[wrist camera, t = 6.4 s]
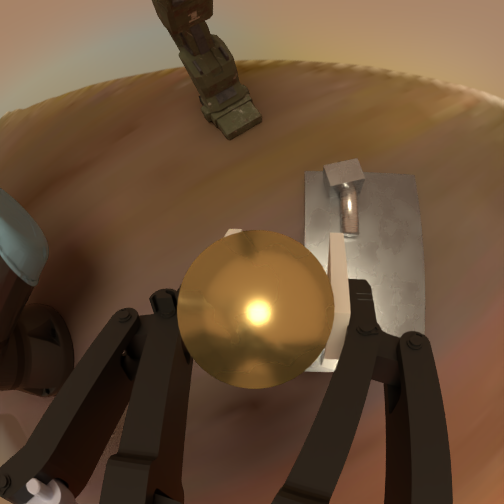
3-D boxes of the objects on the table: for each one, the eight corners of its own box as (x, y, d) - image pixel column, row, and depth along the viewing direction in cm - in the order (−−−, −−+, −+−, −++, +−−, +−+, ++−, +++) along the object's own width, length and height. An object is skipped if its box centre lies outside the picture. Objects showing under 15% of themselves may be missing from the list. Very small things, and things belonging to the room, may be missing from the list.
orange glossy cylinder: (239, 346, 20) (160, 358, 9) (258, 275, 21) (202, 217, 10) (311, 366, 18) (308, 407, 8) (330, 292, 19) (350, 248, 9)
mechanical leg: (183, 89, 43) (108, -51, 13) (220, 67, 43) (178, -82, 13) (226, 150, 42) (161, -7, 12) (267, 125, 42) (261, -45, 12)
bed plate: (418, 367, 29) (433, 373, 24) (299, 369, 31) (298, 376, 27) (411, 179, 34) (422, 161, 29) (305, 175, 36) (303, 157, 32)
